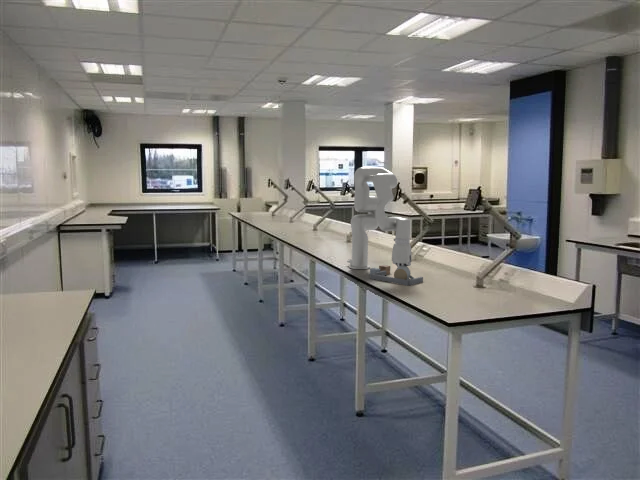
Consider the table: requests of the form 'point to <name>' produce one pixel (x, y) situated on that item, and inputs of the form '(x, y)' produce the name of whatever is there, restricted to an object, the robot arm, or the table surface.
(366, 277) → the table surface
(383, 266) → the walnut block
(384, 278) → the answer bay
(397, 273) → the ceramic mug
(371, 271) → the slate block
